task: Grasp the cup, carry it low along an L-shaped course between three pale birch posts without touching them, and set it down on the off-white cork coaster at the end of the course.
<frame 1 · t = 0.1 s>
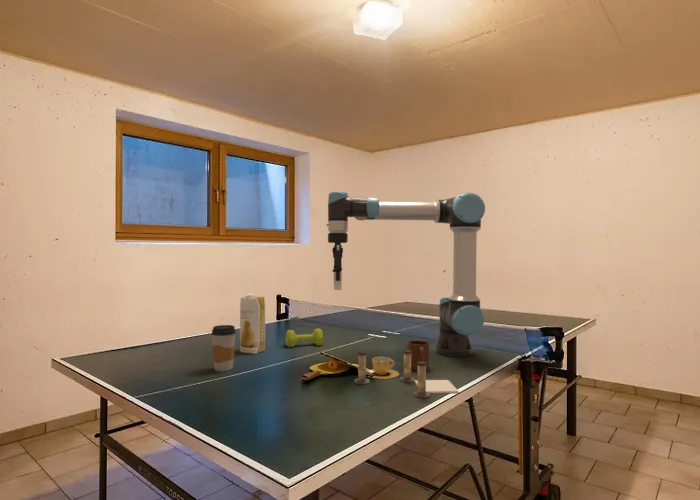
hand: (337, 288, 163), 28 cm above the table, fingers open, 13 cm apart
dumbbell: (304, 346, 190), on the table
coaster: (435, 387, 133), on the table
mug: (419, 370, 152), on the table
coffee cup: (223, 369, 151), on the table
posts: (453, 352, 179), on the table
cup: (381, 375, 147), on the table
juice carton: (252, 352, 178), on the table
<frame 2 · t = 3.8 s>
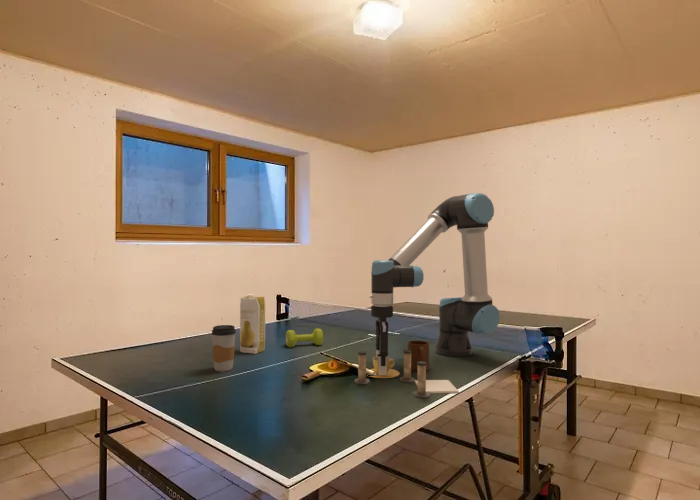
hand: (381, 371, 147), 1 cm above the table, fingers closed on cup, 6 cm apart
cup: (382, 374, 147), on the table, touching gripper
everything else where it was.
when the fingers open (2 cm above the table, at t = 12.3 s): cup stays where it is, resting on coaster.
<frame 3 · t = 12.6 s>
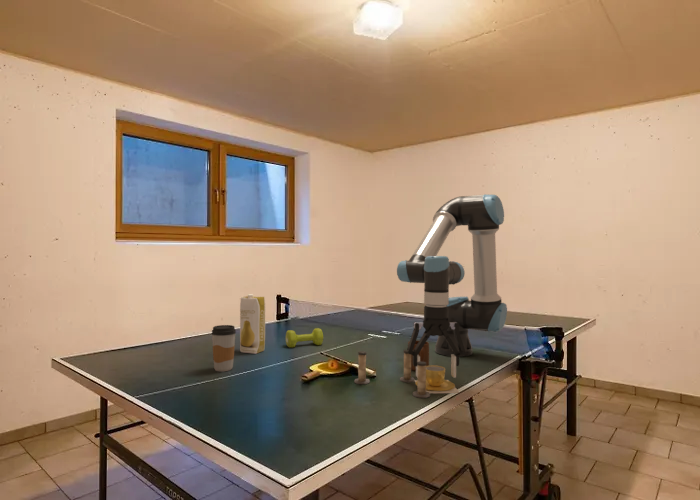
hand: (435, 376, 133), 3 cm above the table, fingers open, 10 cm apart
cup: (434, 386, 133), resting on coaster
everything else where it was.
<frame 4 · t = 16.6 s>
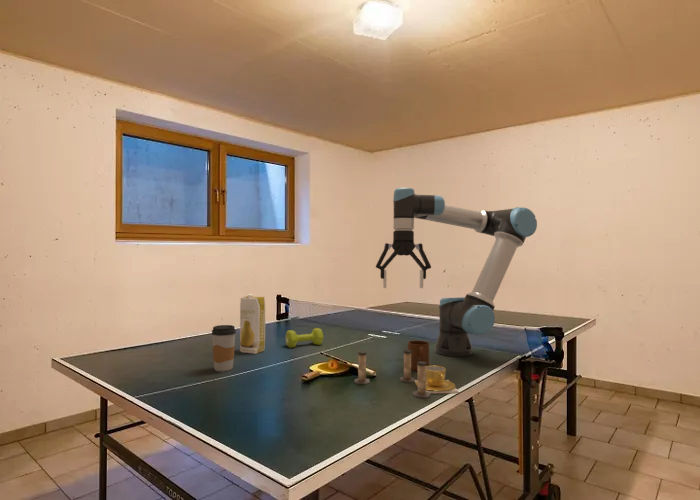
hand: (403, 287, 158), 29 cm above the table, fingers open, 13 cm apart
nothing on the table moved.
at the end: cup inside the target area on the coaster (0.3 cm from its centre), point 0.4 cm above the coaster's base; cup tilted 0°; cup touching coaster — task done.
